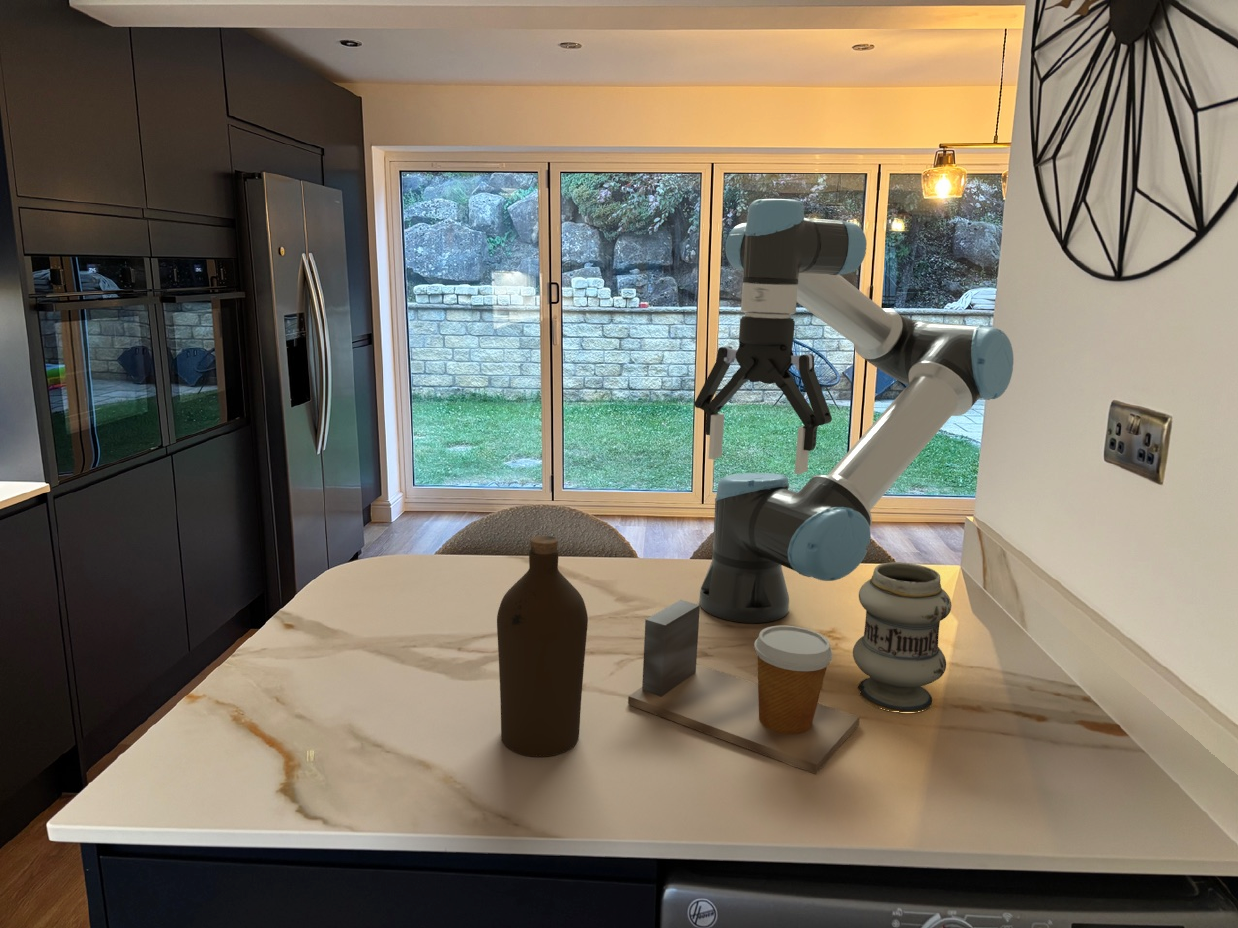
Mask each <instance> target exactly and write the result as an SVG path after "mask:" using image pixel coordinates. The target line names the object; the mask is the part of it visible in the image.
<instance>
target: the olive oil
mask: <svg viewBox="0 0 1238 928" xmlns="http://www.w3.org/2000/svg"><path fill="white" fill-rule="evenodd" d="M529 544H530V549H529V550H528V564H529V567H528V570H527V572H525V573H524V574H523V575H522V577H520V578H519V579H518V580H517V582H515V583H514V584H513V585H512V586H511V587H510V588H509V589H508V590H507V591H506V592H505V594H504V595H503V597H502V599H501V602H500V604H499V607H498V611H497V616H496V630H497V631H496V632H497V652H498V653H497V654H498V670H499V671H498V673H499V675H498V676H499V695H500V696H499V697H500V699H499V700H500V735H501V742H502V743H503V744H504V746H506V747H507V748H508V750H511V751H512V752H514V753H517V754H519V755H523V756H528V757H537V758H538V757H541V758H542V757H551V756H556V755H559V754H563V753H565V752H568V750H570V749H571V748H573V747H574V746H575V745H576V744H577V742H578V741H579V738H580V726H581V709H582V694H583V693H582V692H583V683H584V681H583V680H584V672H585V671H584V669H585V658H586V649H587V648H586V647H587V645H586V644H587V634H588V627H589V626H588V625H589V622H588V621H589V620H588V618H589V617H588V611H587V610H588V609H587V607H586V603H585V600H584V597H582V594H581V593H580V592H579V590H578V589H576V588H575V586H574V585H573V584H572V583H571V582H570V581H569V580H568V579H567V578H566V577H565V576H564V575H563V574H562V573H561V572H560V570H559V554H560V553H559V549H558V545H559V540H558V538H556V537H554V536H551V535H537V536H533V537H532V538H530V542H529Z"/></svg>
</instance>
